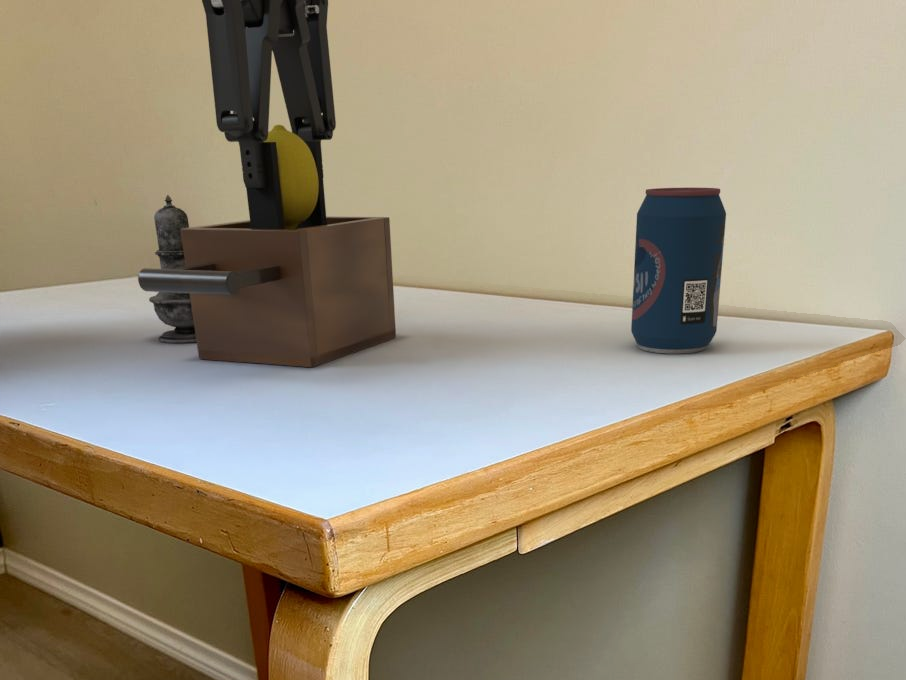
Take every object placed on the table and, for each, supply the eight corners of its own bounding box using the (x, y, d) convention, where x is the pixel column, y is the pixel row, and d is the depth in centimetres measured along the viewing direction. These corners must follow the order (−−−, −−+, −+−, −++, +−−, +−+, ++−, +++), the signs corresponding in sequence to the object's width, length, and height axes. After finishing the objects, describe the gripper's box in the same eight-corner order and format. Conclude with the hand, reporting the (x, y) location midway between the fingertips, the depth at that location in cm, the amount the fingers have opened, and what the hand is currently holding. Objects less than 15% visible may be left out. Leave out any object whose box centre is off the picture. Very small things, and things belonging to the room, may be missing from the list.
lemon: (336, 232, 83) (328, 124, 80) (290, 237, 79) (279, 123, 76) (287, 230, 86) (277, 125, 83) (240, 235, 82) (227, 125, 78)
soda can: (617, 342, 86) (624, 188, 80) (692, 337, 87) (703, 186, 82) (651, 357, 80) (660, 192, 74) (730, 351, 81) (745, 189, 76)
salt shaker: (179, 331, 96) (159, 193, 90) (233, 333, 94) (215, 193, 89) (141, 342, 91) (117, 197, 86) (197, 344, 89) (176, 196, 84)
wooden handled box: (293, 331, 95) (282, 215, 90) (396, 337, 90) (389, 217, 86) (138, 376, 77) (114, 236, 73) (256, 387, 73) (239, 239, 69)
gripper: (218, -155, 63) (262, 241, 74) (366, -101, 78) (385, 222, 89) (125, -140, 66) (180, 239, 76) (285, -90, 81) (313, 221, 91)
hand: (290, 229), depth 83 cm, fingers closed on lemon, 5 cm apart
